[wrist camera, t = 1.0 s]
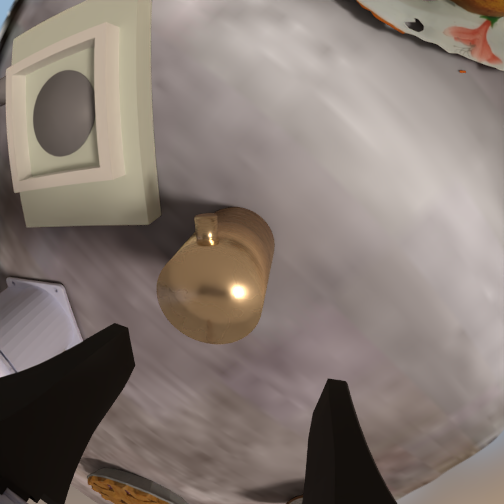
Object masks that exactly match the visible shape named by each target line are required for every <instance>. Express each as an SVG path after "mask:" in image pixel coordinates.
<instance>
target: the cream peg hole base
mask: <svg viewBox="0 0 504 504" xmlns="http://www.w3.org/2000/svg"><path fill="white" fill-rule="evenodd" d="M151 6H152V0H87V1H85V2H82V3H80V4H78V5H76V6H74V7H71V8H69V9H67V10H65V11H63V12H61V13H59V14H57V15H55V16H53V17H51V18H49V19H48V20H46V21H44V22H42V23H40V24H38V25H37V26H35V27H33V28H32V29H30V30H28V31H26V32H25V33H23V34H21V35H20V36H18V37H17V38H15V39H14V41H13V52H12V66H11V67H9V68H7V69H6V76H4V77H3V78H1V79H0V106H2V105H4V104H6V122H7V138H8V149H9V159H10V167H11V175H12V181H13V188H14V193H17V192H20V198H21V203H22V208H23V213H24V218H25V223H26V227H55V226H96V225H149V224H150V223H152V222H153V221H154V220H156V219H157V218H158V217H160V216H161V207H160V199H159V189H158V180H157V169H156V157H155V145H154V130H153V113H152V90H151Z"/></svg>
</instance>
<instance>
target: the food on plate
mask: <svg viewBox="0 0 504 504" xmlns="http://www.w3.org/2000/svg"><path fill="white" fill-rule="evenodd" d="M356 1H357V2H358V3H359V4H360V5H361V6H362V7H363V8H364V9H367V10H369V11H371V12H372V14H373V16H374V17H376V18H377V19H379V20H380V21H382V22H384V23H386V24H387V25H389V26H391V27H392V28H394V29H396V30H397V31H399V32H401V33H402V34H404V33H408V34H412V35H415V36H417V37H419V38H420V39H422V40H424V41H427V42H431V43H434V44H437V45H439V46H440V47H442V48H443V49H444V50H446V51H447V52H448V53H458V54H460V55H462V56H464V57H466V58H468V59H471V60H474V61H476V62H479V63H482V64H484V65H488V66H491V67H494V68H497V69H498V70H503V71H504V0H437V1H429V2H426V1H422V0H356ZM414 18H417V19H419V21H420V22H421V23H422V24H423V25H424V30H423V31H420V32H416V31H414V30H412V29H409V28H408V27H407V25H406V24H405V22H416V21H415V19H414ZM460 73H466V71H460Z"/></svg>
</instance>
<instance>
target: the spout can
mask: <svg viewBox="0 0 504 504" xmlns="http://www.w3.org/2000/svg"><path fill="white" fill-rule="evenodd" d="M194 220H195V230H196V231H195V233H194V234H193V235H192V236H191V237H190V238H189V239H188V240H187V241H186V243H185V244H184V245H183V246H182V247H181V248H180V249H179V250H178V252H177V253H176V254H175V255H174V256H173V257H172V258H171V259H170V261H169V262H168V263H167V264H166V265H165V267H164V268H163V269H162V271H161V273H160V275H159V278H158V282H157V298H158V302H159V305H160V307H161V309H162V311H163V313H164V315H165V316H166V318H167V319H168V320H169V321H170V323H171V324H172V325H173V326H174V327H175V328H177V329H178V330H179V331H180V332H182V333H183V334H185V335H187V336H188V337H190V338H192V339H195V340H198V341H200V342H204V343H210V344H227V343H232V342H235V341H238V340H240V339H242V338H244V337H245V336H247V335H248V334H249V333H250V332H252V330H253V329H254V328H255V327H256V325H257V324H258V322H259V319H260V317H261V312H262V308H263V303H264V298H265V293H266V288H267V284H268V279H269V274H270V269H271V264H272V259H273V254H274V247H275V244H274V237H273V234H272V231H271V229H270V227H269V226H268V224H267V223H266V222H265V221H264V219H263V218H261V217H260V216H259V215H258V214H256V213H254V212H252V211H250V210H248V209H245V208H240V207H228V208H224V209H221V210H218V211H216V212H215V213H204V214H199V215H196V216H195V217H194Z"/></svg>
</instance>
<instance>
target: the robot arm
mask: <svg viewBox="0 0 504 504" xmlns="http://www.w3.org/2000/svg"><path fill="white" fill-rule="evenodd" d="M6 282H7V285H8V288H6V289H5V290H4V291H2V292H1V293H0V504H28V503H26V502H27V501H28V499H29V498H30V499H32V500H33V501H34V502H36V503H38V501H39V500H40V499H42V500H43V501H44V502H46V503H47V504H64V503H65V500H66V497H67V493H68V490H69V487H70V484H71V481H72V479H73V476H74V473H75V471H76V468H77V466H78V464H79V461H80V459H81V457H82V455H83V452H84V450H85V448H86V446H87V444H88V442H89V440H90V438H91V436H92V434H93V433H94V431H95V430H96V428H97V426H98V425H99V423H100V422H101V420H102V419H103V418H104V416H105V415H106V413H107V412H108V410H109V409H110V407H111V406H112V405H113V403H114V402H115V400H116V399H117V397H118V396H119V394H120V393H121V391H122V390H123V388H124V387H125V385H126V383H127V381H128V379H129V377H130V375H131V373H132V371H133V369H134V367H135V362H134V357H133V352H132V347H131V341H130V336H129V330H128V328H127V327H124V326H121V325H119V324H116V323H114V324H112V325H110V326H108V327H107V328H105V329H103V330H101V331H100V332H98V333H96V334H94V335H93V336H91V337H89V338H88V339H86V340H84V341H83V339H82V336H81V334H80V331H79V328H78V326H77V323H76V320H75V318H74V315H73V312H72V309H71V306H70V303H69V300H68V297H67V294H66V291H65V288H64V286H63V285H62V284H57V283H49V282H42V281H34V280H27V279H20V278H13V277H8V278H7V279H6ZM64 350H66V351H64ZM63 351H64V352H63ZM302 504H397V502H396V501H395V499H394V498H393V496H392V494H391V492H390V491H389V489H388V487H387V486H386V484H385V482H384V480H383V478H382V476H381V474H380V472H379V470H378V468H377V466H376V464H375V462H374V459H373V457H372V455H371V452H370V450H369V448H368V445H367V443H366V440H365V437H364V435H363V432H362V429H361V427H360V424H359V421H358V418H357V415H356V412H355V409H354V405H353V402H352V399H351V395H350V391H349V388H348V384H347V382H346V381H341V380H334V379H328V380H327V382H326V385H325V387H324V389H323V392H322V394H321V396H320V398H319V401H318V403H317V405H316V407H315V410H314V412H313V416H312V421H311V427H310V432H309V438H308V450H307V462H306V474H305V485H304V494H303V500H302Z"/></svg>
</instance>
